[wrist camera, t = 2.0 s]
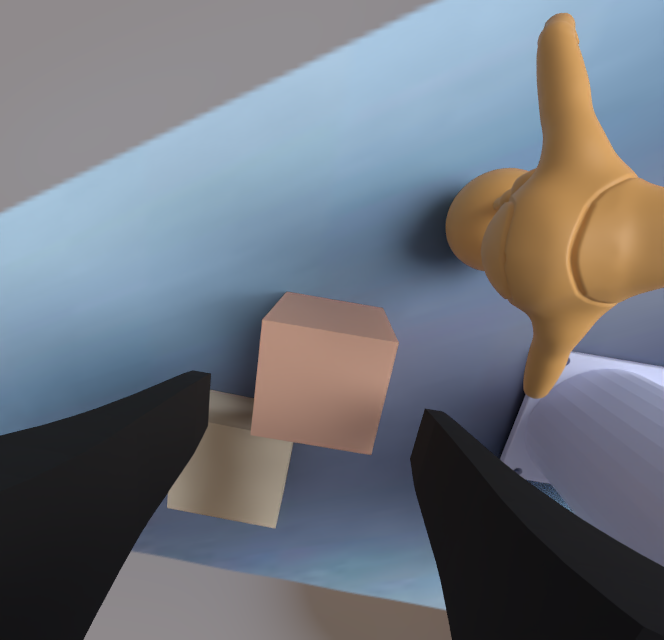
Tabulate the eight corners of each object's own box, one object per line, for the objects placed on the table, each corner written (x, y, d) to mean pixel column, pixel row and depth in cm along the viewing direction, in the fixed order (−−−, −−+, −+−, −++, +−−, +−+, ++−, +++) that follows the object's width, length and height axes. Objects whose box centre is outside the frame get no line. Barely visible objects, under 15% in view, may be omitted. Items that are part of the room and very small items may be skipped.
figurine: (518, 303, 16) (1005, 522, 4) (397, 317, 16) (531, 550, 5) (525, 114, 13) (1734, -626, 2) (383, 138, 14) (582, -315, 2)
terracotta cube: (382, 307, 16) (398, 342, 11) (363, 392, 17) (371, 454, 13) (287, 291, 16) (262, 319, 11) (276, 377, 17) (250, 435, 13)
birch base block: (301, 404, 18) (292, 438, 15) (285, 484, 20) (275, 528, 17) (199, 384, 18) (172, 415, 15) (192, 466, 20) (167, 507, 17)
